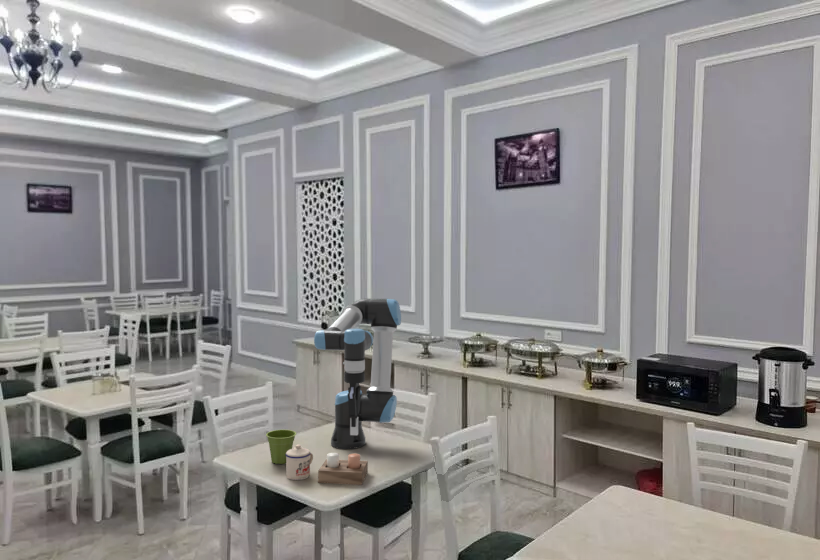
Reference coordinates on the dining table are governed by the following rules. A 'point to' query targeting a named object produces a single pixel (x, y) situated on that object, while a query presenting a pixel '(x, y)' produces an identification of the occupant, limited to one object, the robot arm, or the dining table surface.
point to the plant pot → (280, 444)
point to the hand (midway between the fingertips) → (354, 434)
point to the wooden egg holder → (343, 473)
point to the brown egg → (354, 461)
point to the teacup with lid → (298, 463)
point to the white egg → (333, 460)
